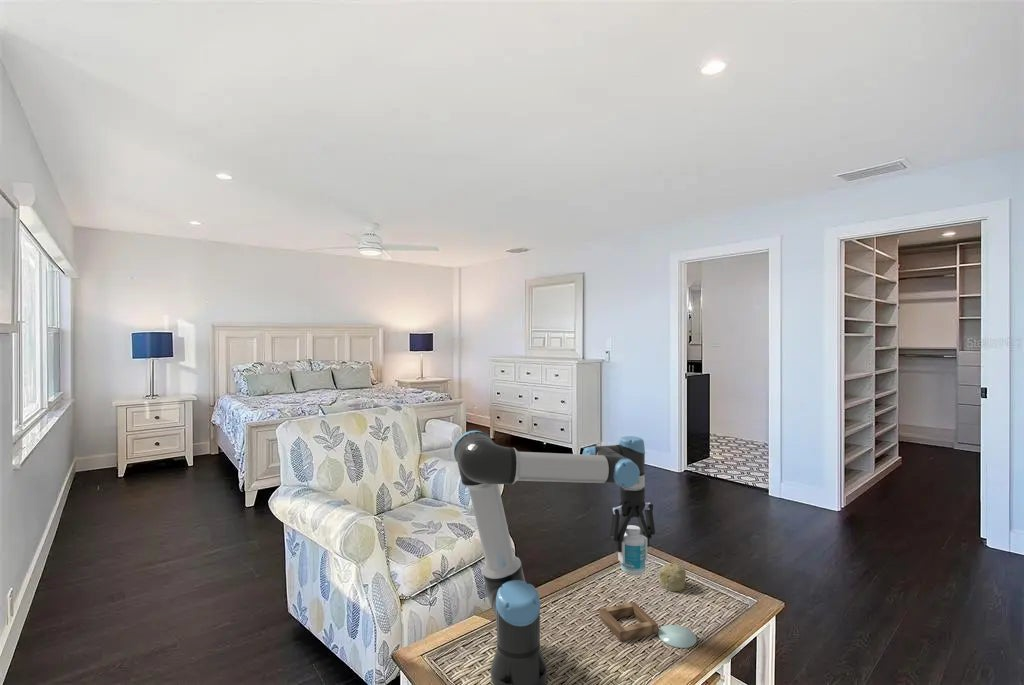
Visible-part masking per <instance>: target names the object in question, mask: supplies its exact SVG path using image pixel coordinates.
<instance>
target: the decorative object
mask: <svg viewBox="0 0 1024 685" xmlns="http://www.w3.org/2000/svg"><path fill="white" fill-rule="evenodd" d="M658 573H659V574H658V577H659V580H658V581H659V585H660V587H661V588H662V589H664V590H666V591H670V592H675V593H677V592H680V591H683V590H684V589H685V586H686V585H685V584H686V578H687V572H686V569H685V568H684V567H683V566H681V565H679V564H677V563H672V562H671V563H666V564H664V565H662V567H660V569H659V572H658Z"/></svg>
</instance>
